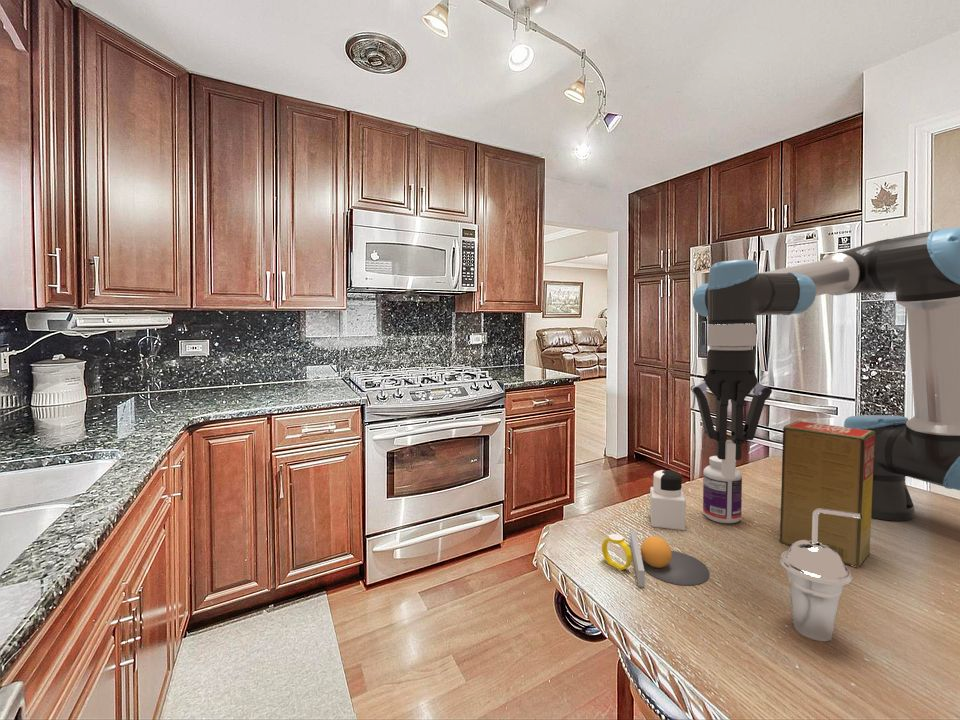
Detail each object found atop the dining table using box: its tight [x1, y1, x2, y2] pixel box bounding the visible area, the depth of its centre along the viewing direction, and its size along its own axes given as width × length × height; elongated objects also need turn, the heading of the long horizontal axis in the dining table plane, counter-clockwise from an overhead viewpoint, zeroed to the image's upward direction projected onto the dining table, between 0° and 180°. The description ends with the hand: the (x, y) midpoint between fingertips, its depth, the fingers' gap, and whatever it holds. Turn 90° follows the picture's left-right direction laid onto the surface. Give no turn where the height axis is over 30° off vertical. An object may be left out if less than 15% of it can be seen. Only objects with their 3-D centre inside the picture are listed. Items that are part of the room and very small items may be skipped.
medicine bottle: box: [649, 469, 687, 531], centre depth 101 cm, size 7×7×12 cm
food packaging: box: [779, 420, 875, 568], centre depth 88 cm, size 13×9×25 cm
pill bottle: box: [702, 455, 743, 524], centre depth 103 cm, size 8×8×14 cm
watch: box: [601, 533, 633, 571], centre depth 84 cm, size 6×3×6 cm, turn 37°
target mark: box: [641, 550, 710, 587], centre depth 83 cm, size 12×12×1 cm
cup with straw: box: [779, 508, 862, 642], centre depth 64 cm, size 8×9×20 cm
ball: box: [640, 536, 672, 568], centre depth 83 cm, size 6×6×6 cm
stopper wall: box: [629, 528, 646, 588], centre depth 85 cm, size 1×16×3 cm, turn 166°
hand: (728, 476), depth 79 cm, fingers closed
